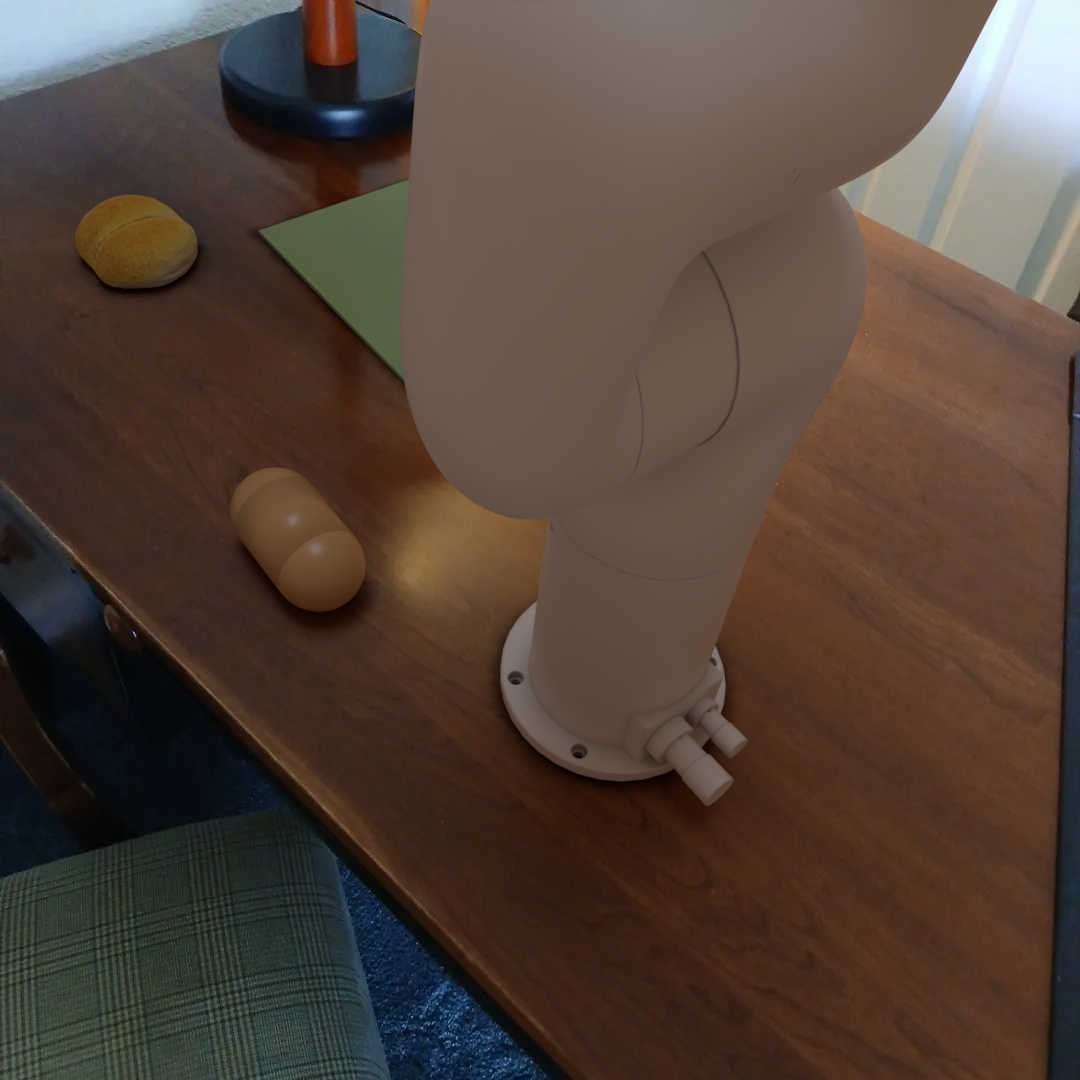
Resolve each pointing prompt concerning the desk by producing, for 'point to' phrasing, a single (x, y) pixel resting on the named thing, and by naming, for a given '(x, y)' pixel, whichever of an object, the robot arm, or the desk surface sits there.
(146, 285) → the bread roll
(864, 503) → the desk surface
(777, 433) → the robot arm
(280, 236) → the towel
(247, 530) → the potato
